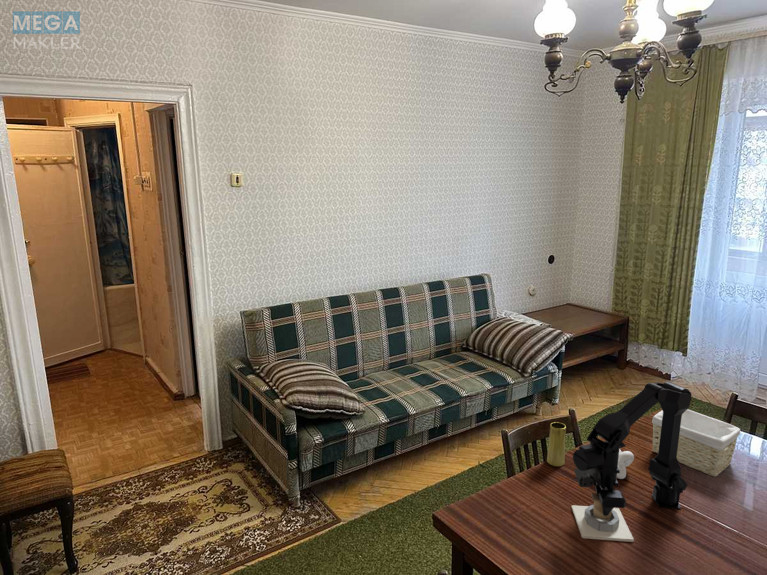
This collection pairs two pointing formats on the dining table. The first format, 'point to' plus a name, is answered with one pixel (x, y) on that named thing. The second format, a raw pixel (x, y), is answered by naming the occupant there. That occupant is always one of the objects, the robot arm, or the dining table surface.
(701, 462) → the storage basket
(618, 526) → the socket board
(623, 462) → the white curved piece
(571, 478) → the dining table surface
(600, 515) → the rotary grip knob
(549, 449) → the vase
